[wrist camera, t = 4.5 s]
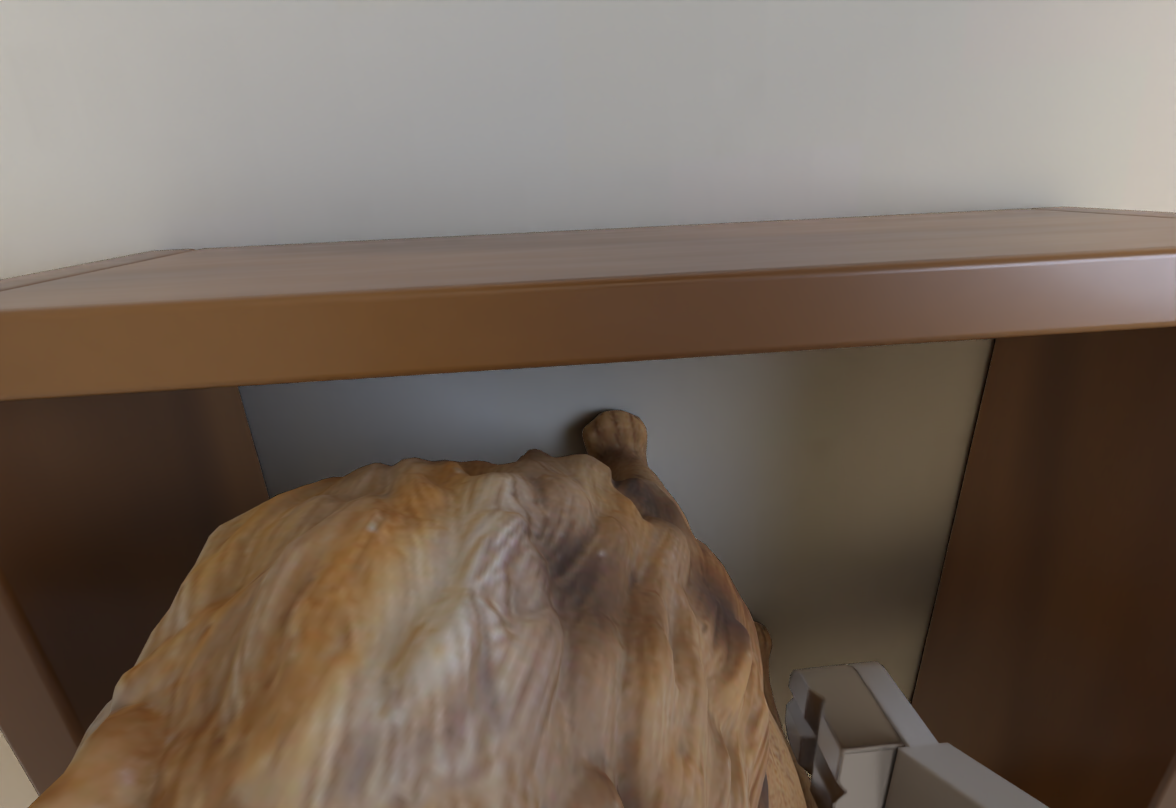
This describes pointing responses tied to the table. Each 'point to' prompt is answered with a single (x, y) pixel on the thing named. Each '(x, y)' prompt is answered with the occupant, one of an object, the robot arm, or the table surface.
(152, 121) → the table surface
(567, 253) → the wooden square frame
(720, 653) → the lion figurine
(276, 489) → the table surface
